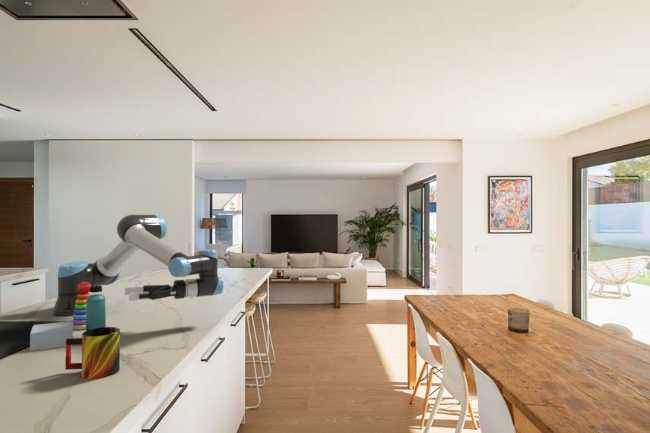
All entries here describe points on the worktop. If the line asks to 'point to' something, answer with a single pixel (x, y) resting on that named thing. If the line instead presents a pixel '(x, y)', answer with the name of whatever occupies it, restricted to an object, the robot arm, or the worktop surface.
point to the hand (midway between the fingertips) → (126, 294)
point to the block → (50, 335)
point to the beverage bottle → (95, 309)
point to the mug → (96, 352)
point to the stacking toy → (81, 306)
